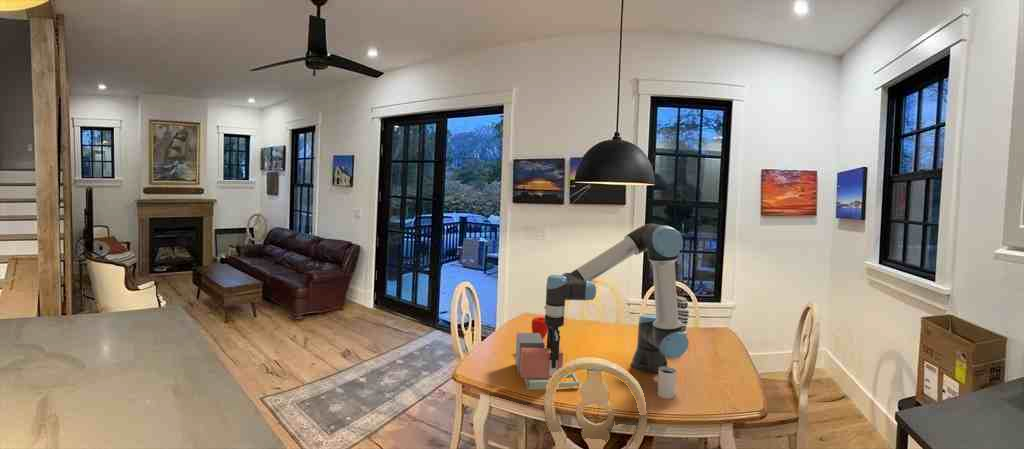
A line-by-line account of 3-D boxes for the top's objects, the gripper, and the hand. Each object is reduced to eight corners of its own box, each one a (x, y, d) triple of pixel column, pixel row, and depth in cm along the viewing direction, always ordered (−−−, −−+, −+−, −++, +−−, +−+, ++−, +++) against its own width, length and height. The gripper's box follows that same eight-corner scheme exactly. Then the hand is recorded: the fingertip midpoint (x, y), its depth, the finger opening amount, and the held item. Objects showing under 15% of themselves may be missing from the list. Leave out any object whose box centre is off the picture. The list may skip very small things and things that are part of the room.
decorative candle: (667, 347, 231) (671, 298, 228) (666, 341, 239) (670, 294, 237) (686, 350, 228) (690, 300, 226) (685, 344, 237) (689, 296, 235)
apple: (542, 342, 230) (543, 321, 229) (527, 338, 235) (528, 318, 234) (550, 337, 238) (551, 317, 237) (536, 334, 242) (537, 314, 242)
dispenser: (539, 364, 202) (541, 333, 201) (544, 376, 190) (546, 343, 189) (515, 364, 201) (516, 332, 200) (518, 376, 189) (520, 342, 188)
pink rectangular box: (558, 372, 185) (560, 348, 184) (561, 377, 180) (563, 353, 179) (519, 372, 183) (521, 347, 182) (521, 377, 178) (522, 352, 177)
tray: (573, 379, 188) (573, 373, 188) (578, 389, 179) (579, 382, 179) (524, 379, 186) (524, 373, 186) (527, 389, 177) (527, 383, 177)
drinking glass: (658, 398, 174) (659, 372, 173) (655, 390, 181) (657, 365, 180) (676, 400, 173) (678, 374, 172) (673, 392, 180) (674, 367, 179)
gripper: (541, 308, 189) (538, 363, 191) (549, 321, 171) (545, 382, 173) (559, 308, 189) (556, 363, 191) (569, 321, 171) (565, 382, 173)
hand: (551, 372), depth 182 cm, fingers closed on pink rectangular box, 5 cm apart
